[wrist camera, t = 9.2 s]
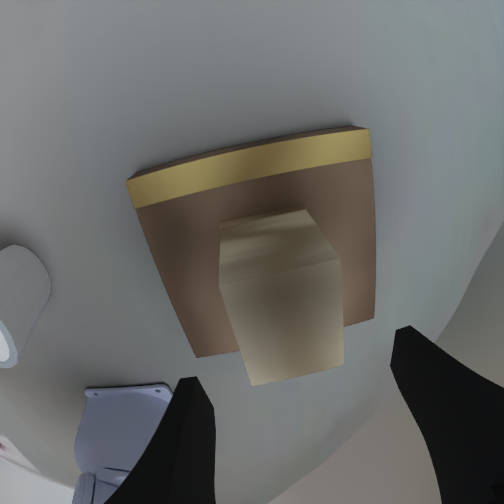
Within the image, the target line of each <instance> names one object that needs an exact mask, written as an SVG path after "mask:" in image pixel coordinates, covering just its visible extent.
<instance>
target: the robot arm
mask: <svg viewBox="0 0 504 504" xmlns="http://www.w3.org/2000/svg"><path fill="white" fill-rule="evenodd" d="M390 367H391V370H392V372H393V375H394V378H395V380H396V383H397V385H398V388H399V390H400V392H401V394H402V396H403V398H404V400H405V401H406V403H407V405H408V407H409V409H410V411H411V412H412V415H413V417H414V419H415V420H416V422H417V424H418V426H419V428H420V430H421V432H422V435H423V437H424V439H425V442H426V445H427V447H428V450H429V453H430V456H431V459H432V463H433V466H434V469H435V473H436V477H437V481H438V485H439V490H440V495H441V500H442V504H504V388H503V387H501V386H499V385H497V384H495V383H493V382H491V381H489V380H487V379H486V378H484V377H482V376H480V375H479V374H477V373H475V372H474V371H472V370H470V369H469V368H468V367H466V366H464V365H463V364H462V363H460V362H458V361H457V360H456V359H454V358H453V357H452V356H450V355H449V354H447V353H446V352H445V351H443V350H442V349H441V348H439V347H438V346H437V345H435V344H434V343H433V342H431V341H430V340H429V339H428V338H426V337H425V336H424V335H422V334H421V333H420V332H418V331H417V330H416V329H414V328H413V327H412V326H407V327H404V328H401V329H398V330H396V332H395V339H394V346H393V352H392V358H391V364H390ZM84 393H85V395H86V396H87V397H88V400H87V403H86V406H85V409H84V412H83V415H82V419H81V422H80V425H79V428H78V432H77V435H76V439H75V443H74V453H75V459H76V462H77V465H78V467H79V469H80V470H81V471H82V473H83V474H81V475H80V476H79V478H78V481H77V484H76V488H75V492H74V496H73V501H72V504H216V501H215V490H214V474H215V444H216V428H215V416H214V407H213V405H212V403H211V402H210V400H209V398H208V396H207V395H206V393H205V391H204V389H203V387H202V385H201V384H200V382H199V380H198V378H197V376H196V377H189V378H181V379H180V380H179V382H178V384H177V386H176V389H175V391H174V393H173V394H172V392H171V391H170V389H169V388H168V386H166V385H164V384H160V385H149V386H137V387H121V388H100V389H85V391H84Z"/></svg>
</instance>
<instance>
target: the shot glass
mask: <svg viewBox="0 0 504 504" xmlns="http://www.w3.org/2000/svg"><path fill="white" fill-rule="evenodd" d="M50 292H51V284H50V278H49V275H48V273H47V271H46V269H45V267H44V265H43V263H42V262H41V261H40V260H39V259H38V257H37V256H36V255H35V254H34V253H33V252H31V251H30V250H28V249H27V248H25V247H24V246H19V245H14V244H13V245H11V246H8V247H6V248H4V249H3V250H1V251H0V368H12V367H13V366H14V365H15V364H17V362H18V360H19V358H20V355H21V353H22V351H23V349H24V347H25V344H26V342H27V340H28V338H29V336H30V334H31V332H32V330H33V328H34V326H35V324H36V322H37V320H38V318H39V316H40V314H41V312H42V310H43V308H44V307H45V305H46V303H47V301H48V299H49V296H50Z"/></svg>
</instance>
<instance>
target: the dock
mask: <svg viewBox="0 0 504 504" xmlns="http://www.w3.org/2000/svg"><path fill="white" fill-rule="evenodd" d="M371 158H372V151H371V142H370V134H369V129H367V128H362V127H357V126H348V127H340V128H332V129H325V130H318V131H312V132H305V133H299V134H293V135H287V136H282V137H276V138H271V139H266V140H261V141H256V142H251V143H246V144H242V145H237V146H232V147H228V148H224V149H220V150H215V151H211V152H207V153H203V154H199V155H195V156H192V157H188V158H184V159H180V160H177V161H173V162H170V163H166V164H163V165H159V166H156V167H152V168H149V169H146V170H143V171H139V172H136V173H135V174H134V175H132V176H131V177H130V178H129V179H127V180H126V181H125V182H126V185H127V188H128V191H129V194H130V197H131V200H132V203H133V206H134V209H136V212H137V215H138V218H139V221H140V224H141V226H142V229H143V232H144V235H145V237H146V240H147V243H148V245H149V248H150V251H151V253H152V256H153V259H154V261H155V264H156V266H157V269H158V271H159V274H160V276H161V279H162V281H163V284H164V286H165V289H166V291H167V293H168V296H169V298H170V300H171V303H172V305H173V307H174V310H175V312H176V314H177V317H178V319H179V321H180V323H181V326H182V328H183V330H184V332H185V334H186V337H187V339H188V341H189V343H190V345H191V347H192V349H193V352H194V354H195V356H196V358H200V357H206V356H212V355H218V354H224V353H230V352H235V351H240V349H239V347H238V344H237V341H236V338H235V335H234V332H233V329H232V326H231V323H230V319H229V316H228V313H227V310H226V307H225V304H224V301H223V298H222V295H221V292H220V288H219V257H220V232H221V231H220V223H222V222H227V221H231V220H235V219H240V218H244V217H249V216H253V215H258V214H263V213H267V212H272V211H277V210H282V209H286V208H291V207H296V206H301V205H305V207H306V208H307V212H308V213H309V214H310V216H311V217H312V219H313V220H314V221H315V223H316V224H317V225H318V227H319V228H320V230H321V231H322V232H323V234H324V235H325V237H326V238H327V240H328V241H329V242H330V244H331V245H332V247H333V248H334V250H335V251H336V252H337V254H338V255H339V257H340V258H341V272H342V293H343V327H345V326H349V325H352V324H356V323H360V322H363V321H366V320H370V319H373V318H374V311H375V286H376V230H375V204H374V188H373V174H372V163H371Z"/></svg>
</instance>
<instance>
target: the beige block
mask: <svg viewBox="0 0 504 504" xmlns="http://www.w3.org/2000/svg"><path fill="white" fill-rule="evenodd" d="M220 231H221V232H220V257H219V288H220V292H221V295H222V298H223V301H224V304H225V307H226V310H227V313H228V316H229V319H230V323H231V326H232V329H233V332H234V335H235V338H236V341H237V344H238V347H239V349H240V352H241V355H242V358H243V361H244V364H245V367H246V370H247V373H248V376H249V378H250V381H251V384H252V386H255V385H260V384H266V383H271V382H276V381H281V380H285V379H290V378H294V377H299V376H303V375H307V374H312V373H316V372H320V371H324V370H327V369H331V368H335V367H339V366H342V365H344V327H343V293H342V272H341V258H340V257H339V255H338V254H337V252H336V251H335V250H334V248H333V247H332V245H331V244H330V242H329V241H328V240H327V238H326V237H325V235H324V234H323V232H322V231H321V230H320V228H319V227H318V225H317V224H316V223H315V221H314V220H313V219H312V217H311V216H310V214H309V213H308V212H307V208H306V207H305V205H301V206H296V207H291V208H286V209H282V210H277V211H272V212H267V213H263V214H258V215H253V216H249V217H244V218H240V219H235V220H231V221H227V222H222V223H220Z"/></svg>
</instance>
